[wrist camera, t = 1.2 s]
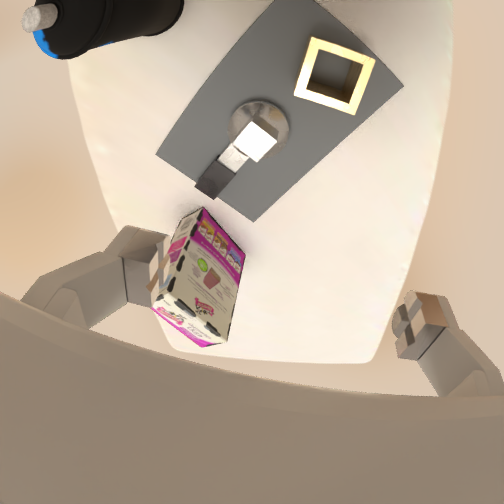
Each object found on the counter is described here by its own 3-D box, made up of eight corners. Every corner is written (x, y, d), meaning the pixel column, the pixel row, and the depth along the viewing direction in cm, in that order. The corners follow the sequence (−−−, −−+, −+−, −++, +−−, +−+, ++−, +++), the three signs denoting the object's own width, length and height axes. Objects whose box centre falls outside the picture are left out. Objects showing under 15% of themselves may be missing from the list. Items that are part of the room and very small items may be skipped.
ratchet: (254, 87, 32) (248, 98, 28) (301, 124, 35) (301, 140, 31) (186, 172, 41) (174, 192, 37) (227, 200, 44) (219, 223, 40)
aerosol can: (153, -37, 22) (33, -52, 8) (199, 2, 26) (99, -2, 11) (109, 11, 26) (-17, 40, 12) (150, 48, 30) (37, 95, 15)
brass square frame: (309, 34, 27) (311, 37, 23) (363, 53, 27) (375, 60, 23) (294, 83, 31) (293, 95, 27) (346, 100, 32) (354, 115, 27)
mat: (291, -16, 23) (291, -16, 23) (402, 85, 29) (403, 86, 29) (156, 153, 40) (155, 154, 40) (253, 220, 46) (253, 222, 46)
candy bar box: (179, 219, 48) (140, 302, 36) (203, 205, 45) (167, 291, 33) (223, 265, 53) (200, 349, 41) (247, 255, 51) (229, 343, 39)
